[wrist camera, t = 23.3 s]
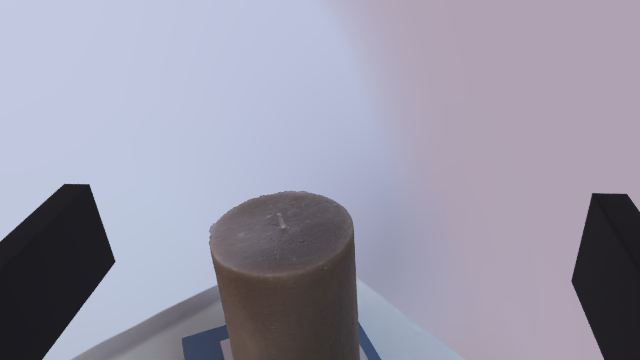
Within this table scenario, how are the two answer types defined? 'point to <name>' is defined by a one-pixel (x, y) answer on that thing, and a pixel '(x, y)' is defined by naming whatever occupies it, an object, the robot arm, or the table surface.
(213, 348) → the scale
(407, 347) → the table surface
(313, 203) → the pillar candle
